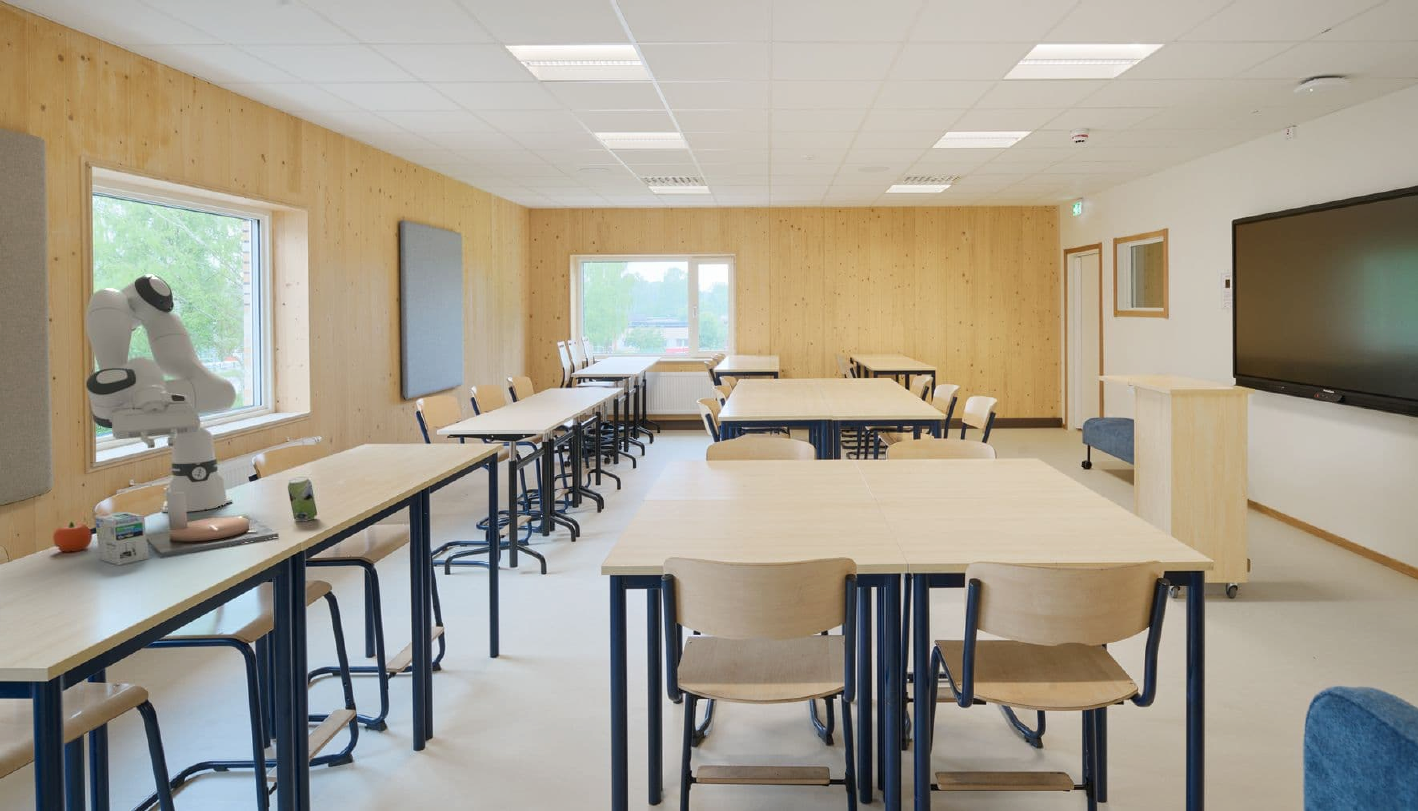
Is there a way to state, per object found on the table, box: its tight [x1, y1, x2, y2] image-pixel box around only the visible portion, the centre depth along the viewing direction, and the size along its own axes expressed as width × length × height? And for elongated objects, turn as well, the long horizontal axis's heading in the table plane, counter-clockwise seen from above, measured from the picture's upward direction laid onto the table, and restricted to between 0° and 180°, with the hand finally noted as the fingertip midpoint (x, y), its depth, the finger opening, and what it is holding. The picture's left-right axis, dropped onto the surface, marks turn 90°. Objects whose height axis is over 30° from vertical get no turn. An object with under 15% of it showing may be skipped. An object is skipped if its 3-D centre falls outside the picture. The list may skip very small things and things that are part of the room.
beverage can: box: [287, 476, 318, 522], centre depth 250 cm, size 6×7×12 cm
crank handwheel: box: [166, 492, 249, 541], centre depth 231 cm, size 18×18×11 cm
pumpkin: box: [52, 521, 93, 553], centre depth 223 cm, size 8×8×7 cm
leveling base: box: [146, 514, 279, 559], centre depth 232 cm, size 26×26×3 cm
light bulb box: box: [94, 510, 149, 566], centre depth 213 cm, size 11×7×11 cm, turn 56°
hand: (161, 445), depth 238 cm, fingers open, 3 cm apart
